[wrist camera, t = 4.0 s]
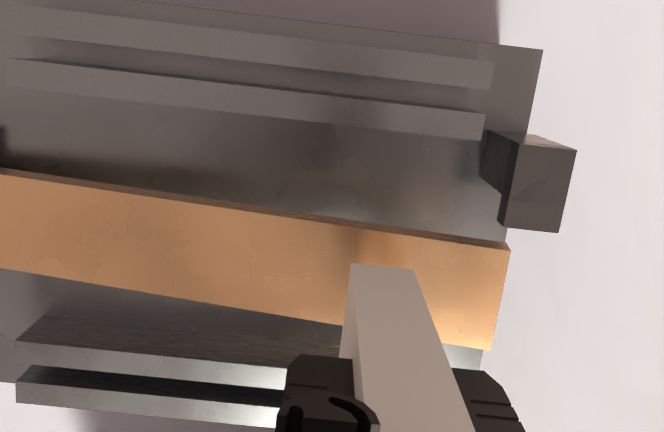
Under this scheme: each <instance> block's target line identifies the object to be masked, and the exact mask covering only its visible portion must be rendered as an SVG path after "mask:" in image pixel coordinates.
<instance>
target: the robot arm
mask: <svg viewBox="0 0 664 432" xmlns="http://www.w3.org/2000/svg"><path fill="white" fill-rule="evenodd" d="M518 419H519V418H518V416H517V414H516V412H515V410H514V408H513V407H511V403H510V401H509V399H508V397H507V395H506V393H505V391H504V389H503V387H502V386H501V385H500V384H498V383H497V382H496V381H495V380H494V379H493V378H492V377H490V376H489V375H488V374H487V373H486V372H485V371H480V370H471V369H461V368H451V367H450V364H449V361H448V359H447V356H446V354H445V351H444V348H443V346H442V343H441V341H440V338H439V335H438V333H437V330H436V328H435V325H434V323H433V320H432V317H431V315H430V312H429V310H428V307H427V304H426V302H425V299H424V297H423V294H422V291H421V289H420V286H419V284H418V281H417V278H416V276H415V273H414V271H413V270H412V269H402V268H393V267H384V266H375V265H366V264H357V263H351V267H350V275H349V283H348V290H347V298H346V305H345V313H344V321H343V328H342V336H341V344H340V351H339V358H336V357H327V356H317V355H308V354H300V355H299V356H298V357H297V358H296V359H295V360H294V361H293V362H292V363H291V364H290V365H289V366H288V367H287V374H286V381H285V388H284V395H283V402H282V405H281V407H280V409H279V411H278V413H277V417H276V427H275V432H525V430H524V428H523V426H522V424H521V422H519V421H518Z"/></svg>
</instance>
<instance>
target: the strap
mask: <svg viewBox="0 0 664 432" xmlns="http://www.w3.org/2000/svg"><path fill="white" fill-rule="evenodd" d="M510 253H511V251H510V249H509V247H508V245H507V243H504V242H498V241H491V240H484V239H478V238H471V237H464V236H458V235H451V234H444V233H437V232H431V231H424V230H417V229H411V228H404V227H397V226H390V225H384V224H377V223H370V222H364V221H357V220H350V219H344V218H337V217H330V216H323V215H317V214H310V213H303V212H297V211H290V210H283V209H276V208H270V207H263V206H256V205H250V204H243V203H236V202H230V201H223V200H216V199H209V198H203V197H196V196H189V195H183V194H176V193H169V192H162V191H156V190H149V189H142V188H136V187H129V186H122V185H116V184H109V183H102V182H95V181H89V180H82V179H75V178H69V177H62V176H55V175H48V174H42V173H35V172H28V171H22V170H15V169H8V168H2V167H0V268H4V269H10V270H16V271H22V272H28V273H34V274H40V275H46V276H52V277H57V278H63V279H69V280H75V281H81V282H87V283H93V284H99V285H105V286H111V287H116V288H122V289H128V290H134V291H140V292H146V293H152V294H158V295H164V296H170V297H175V298H181V299H187V300H193V301H199V302H205V303H211V304H217V305H223V306H229V307H234V308H240V309H246V310H252V311H258V312H264V313H270V314H276V315H282V316H288V317H294V318H299V319H305V320H311V321H317V322H323V323H329V324H335V325H341V326H343V321H344V313H345V305H346V298H347V290H348V283H349V275H350V267H351V263H357V264H366V265H375V266H384V267H393V268H402V269H412V270H413V271H414V273H415V276H416V278H417V281H418V284H419V286H420V289H421V291H422V294H423V297H424V299H425V302H426V304H427V307H428V310H429V312H430V315H431V317H432V320H433V323H434V325H435V328H436V330H437V333H438V335H439V338H440V341H441V343H447V344H453V345H459V346H465V347H471V348H476V349H482V350H488V351H490V350H491V345H492V340H493V336H494V331H495V326H496V321H497V316H498V311H499V306H500V301H501V296H502V292H503V287H504V282H505V277H506V272H507V267H508V262H509V257H510Z"/></svg>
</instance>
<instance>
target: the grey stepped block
mask: <svg viewBox="0 0 664 432" xmlns="http://www.w3.org/2000/svg"><path fill="white" fill-rule="evenodd" d="M542 54H543V50H540V49H531V48H523V47H515V46H507V45H498V44H490V43H482V42H474V41H465V40H457V39H449V38H441V37H432V36H424V35H416V34H408V33H399V32H391V31H383V30H375V29H366V28H358V27H350V26H342V25H333V24H325V23H317V22H309V21H301V20H292V19H284V18H276V17H268V16H259V15H251V14H243V13H235V12H226V11H218V10H210V9H202V8H193V7H185V6H177V5H169V4H160V3H152V2H144V1H136V0H0V167H2V168H8V169H15V170H22V171H28V172H35V173H42V174H48V175H55V176H62V177H69V178H75V179H82V180H89V181H95V182H102V183H109V184H116V185H122V186H129V187H136V188H142V189H149V190H156V191H162V192H169V193H176V194H183V195H189V196H196V197H203V198H209V199H216V200H223V201H230V202H236V203H243V204H250V205H256V206H263V207H270V208H276V209H283V210H290V211H297V212H303V213H310V214H317V215H323V216H330V217H337V218H344V219H350V220H357V221H364V222H370V223H377V224H384V225H390V226H397V227H404V228H411V229H417V230H424V231H431V232H437V233H444V234H451V235H458V236H464V237H471V238H478V239H484V240H491V241H498V242H504V243H505V238H506V233H507V228H516V229H525V230H534V231H543V232H552V233H558V232H559V228H560V223H561V219H562V215H563V210H564V206H565V201H566V197H567V192H568V188H569V183H570V179H571V175H572V170H573V166H574V161H575V157H576V152H577V150H575V149H572V148H569V147H567V146H564V145H561V144H558V143H556V142H553V141H550V140H548V139H545V138H542V137H539V136H537V135H531V134H526V133H527V128H528V123H529V118H530V113H531V109H532V104H533V99H534V94H535V89H536V84H537V79H538V74H539V69H540V64H541V59H542ZM342 328H343V326H341V325H335V324H329V323H323V322H317V321H311V320H305V319H299V318H294V317H288V316H282V315H276V314H270V313H264V312H258V311H252V310H246V309H240V308H234V307H229V306H223V305H217V304H211V303H205V302H199V301H193V300H187V299H181V298H175V297H170V296H164V295H158V294H152V293H146V292H140V291H134V290H128V289H122V288H116V287H111V286H105V285H99V284H93V283H87V282H81V281H75V280H69V279H63V278H57V277H52V276H46V275H40V274H34V273H28V272H22V271H16V270H10V269H4V268H0V382H8V383H16V403H26V404H36V405H46V406H56V407H66V408H76V409H86V410H96V411H106V412H117V413H127V414H137V415H147V416H157V417H167V418H177V419H187V420H197V421H207V422H217V423H227V424H237V425H247V426H257V427H267V428H275V427H276V417H277V413H278V411H279V409H280V407H281V405H282V402H283V395H284V388H285V381H286V374H287V367H288V366H289V365H290V364H291V363H292V362H293V361H294V360H295V359H296V358H297V357H298V356H299V355H300V354H308V355H317V356H327V357H336V358H339V351H340V344H341V336H342ZM442 346H443V348H444V351H445V354H446V356H447V359H448V361H449V364H450V367H451V368H461V369H471V370H479V367H480V362H481V357H482V352H483V350H482V349H476V348H471V347H465V346H459V345H453V344H447V343H442Z"/></svg>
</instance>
